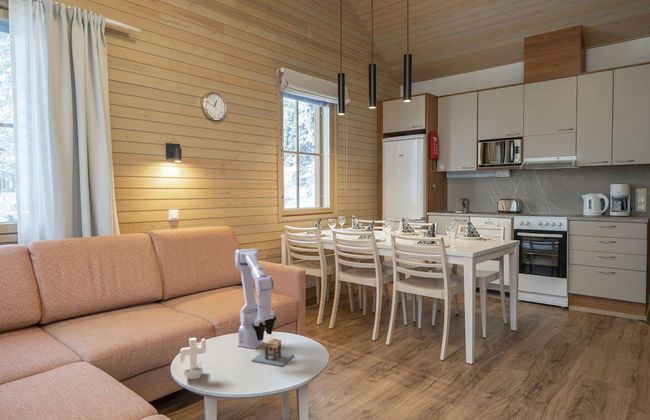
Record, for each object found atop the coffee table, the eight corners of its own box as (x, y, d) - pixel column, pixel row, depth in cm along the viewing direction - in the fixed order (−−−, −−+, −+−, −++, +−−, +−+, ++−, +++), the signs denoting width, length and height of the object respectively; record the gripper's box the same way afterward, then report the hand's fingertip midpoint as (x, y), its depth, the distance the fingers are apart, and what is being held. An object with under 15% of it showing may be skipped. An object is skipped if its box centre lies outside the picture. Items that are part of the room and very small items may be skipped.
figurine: (181, 373, 163) (180, 336, 161) (206, 370, 165) (205, 333, 164) (180, 382, 156) (178, 343, 154) (206, 379, 158) (205, 340, 157)
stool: (265, 359, 174) (264, 342, 174) (270, 354, 179) (270, 338, 179) (275, 360, 173) (275, 344, 172) (281, 356, 177) (281, 340, 177)
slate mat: (251, 361, 173) (251, 360, 173) (264, 351, 184) (264, 350, 184) (282, 366, 168) (282, 365, 168) (293, 356, 179) (293, 354, 179)
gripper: (264, 311, 166) (265, 344, 167) (280, 301, 180) (281, 332, 181) (249, 309, 169) (249, 342, 170) (266, 299, 182) (266, 330, 183)
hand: (264, 337), depth 176 cm, fingers open, 7 cm apart
